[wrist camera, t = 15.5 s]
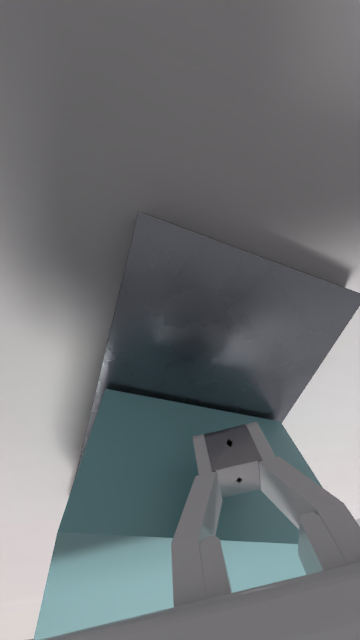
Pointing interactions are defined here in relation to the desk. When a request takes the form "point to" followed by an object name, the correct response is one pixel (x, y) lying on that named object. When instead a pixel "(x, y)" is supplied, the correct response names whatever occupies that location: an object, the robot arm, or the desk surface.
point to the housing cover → (155, 515)
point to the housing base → (217, 325)
